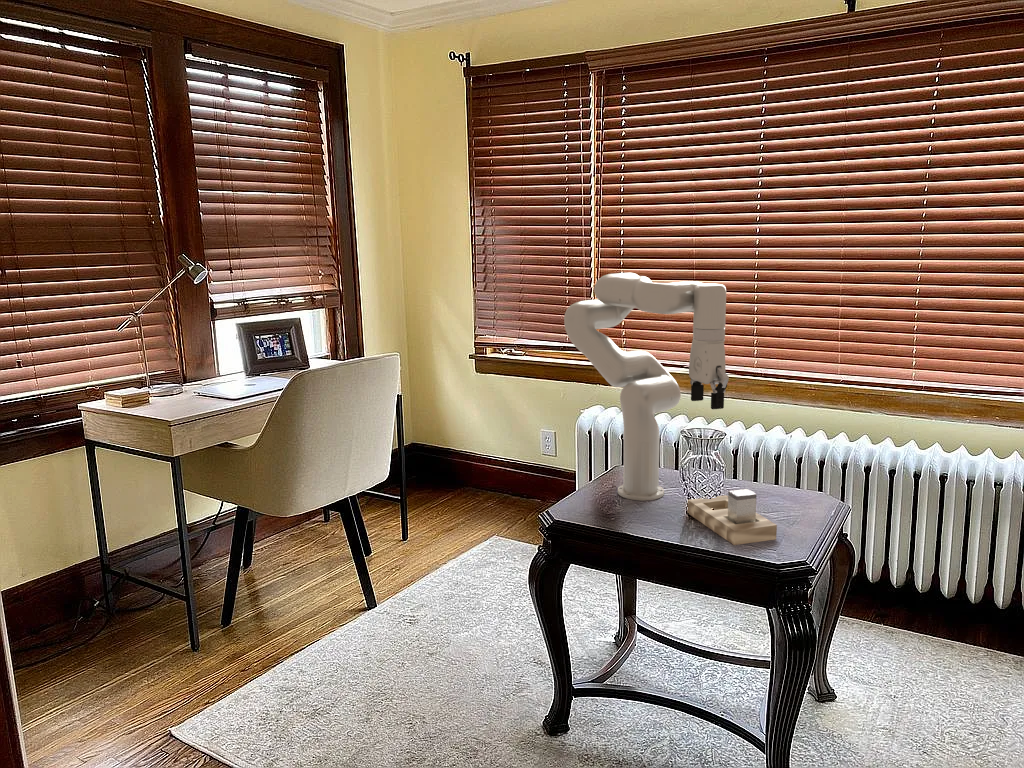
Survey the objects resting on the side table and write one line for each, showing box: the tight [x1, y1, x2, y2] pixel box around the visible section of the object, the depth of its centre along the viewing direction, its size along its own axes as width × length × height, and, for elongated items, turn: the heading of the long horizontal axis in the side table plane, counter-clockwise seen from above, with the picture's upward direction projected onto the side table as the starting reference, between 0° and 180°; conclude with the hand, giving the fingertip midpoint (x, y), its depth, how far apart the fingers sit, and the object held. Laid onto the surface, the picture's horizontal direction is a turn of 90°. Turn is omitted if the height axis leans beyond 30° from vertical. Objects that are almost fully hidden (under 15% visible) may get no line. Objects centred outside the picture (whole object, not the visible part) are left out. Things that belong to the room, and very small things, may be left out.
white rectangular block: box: [727, 488, 758, 524], centre depth 188 cm, size 4×5×10 cm
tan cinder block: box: [687, 494, 778, 546], centre depth 193 cm, size 22×11×4 cm, turn 16°
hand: (706, 404), depth 196 cm, fingers open, 9 cm apart
